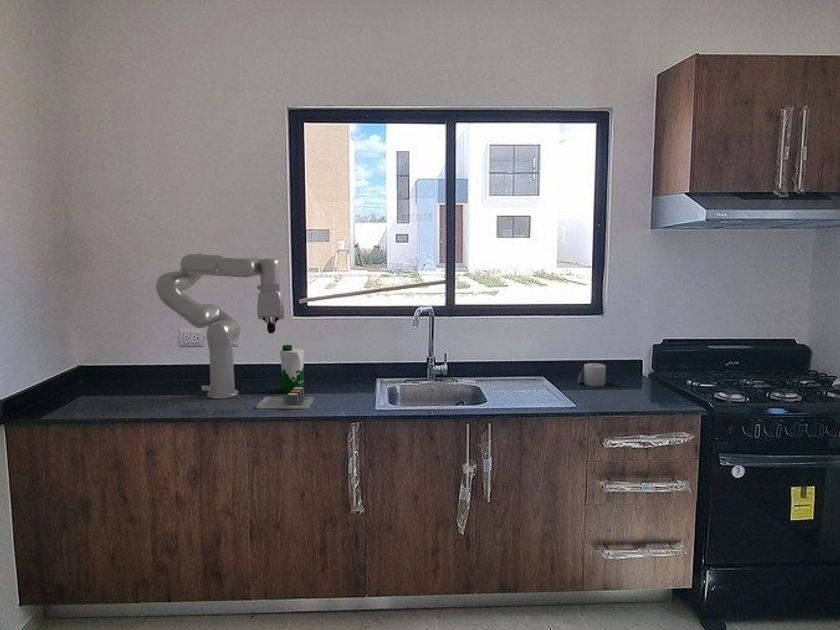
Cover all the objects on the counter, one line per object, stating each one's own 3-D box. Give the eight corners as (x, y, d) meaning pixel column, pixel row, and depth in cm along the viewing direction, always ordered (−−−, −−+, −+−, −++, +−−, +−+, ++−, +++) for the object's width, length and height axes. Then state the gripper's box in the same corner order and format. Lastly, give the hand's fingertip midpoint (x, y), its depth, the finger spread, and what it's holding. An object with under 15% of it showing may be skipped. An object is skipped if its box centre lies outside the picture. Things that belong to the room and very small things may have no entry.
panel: (256, 408, 244) (256, 404, 244) (265, 399, 257) (265, 396, 257) (307, 408, 244) (307, 405, 243) (313, 400, 257) (313, 396, 256)
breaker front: (287, 404, 244) (286, 394, 244) (288, 403, 246) (288, 393, 246) (297, 404, 244) (297, 394, 244) (298, 403, 246) (298, 393, 246)
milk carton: (287, 388, 277) (286, 343, 274) (306, 389, 275) (305, 344, 273) (279, 393, 268) (277, 347, 266) (298, 394, 267) (297, 347, 264)
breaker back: (292, 398, 254) (292, 388, 253) (294, 396, 256) (293, 387, 256) (302, 398, 254) (302, 388, 253) (303, 396, 256) (303, 387, 255)
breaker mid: (290, 401, 249) (289, 391, 248) (291, 399, 251) (291, 390, 251) (300, 401, 249) (299, 391, 248) (301, 399, 251) (301, 390, 251)
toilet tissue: (572, 383, 285) (573, 365, 284) (595, 380, 290) (596, 362, 289) (586, 387, 277) (586, 368, 276) (609, 384, 282) (610, 366, 281)
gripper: (249, 289, 253) (250, 334, 255) (286, 289, 252) (287, 334, 255) (254, 288, 260) (256, 331, 262) (290, 288, 260) (291, 331, 262)
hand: (271, 332), depth 259 cm, fingers closed
